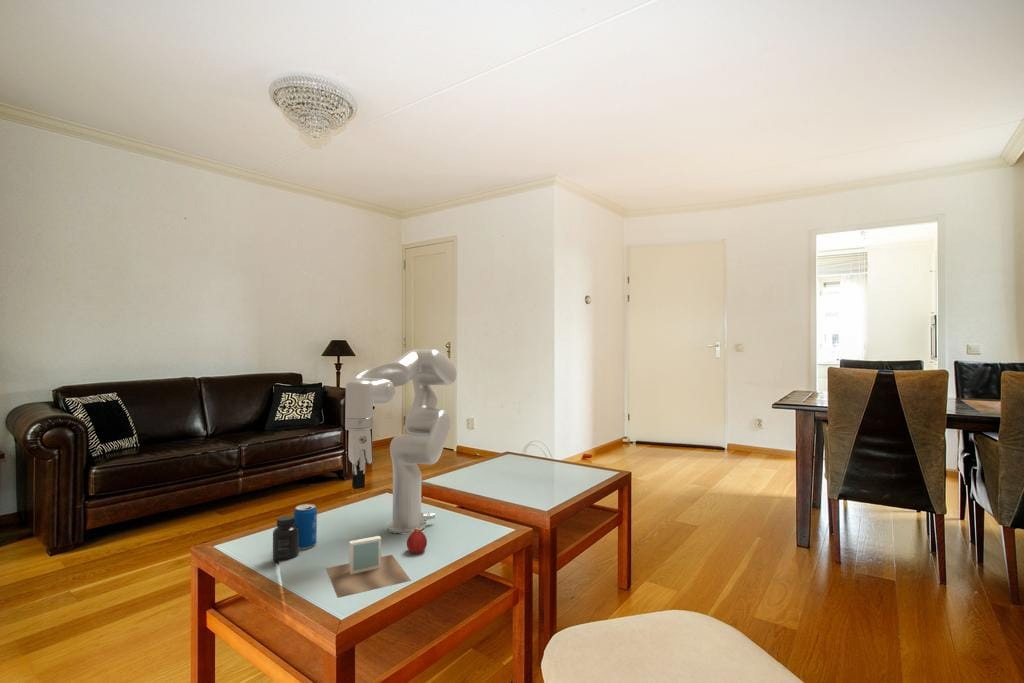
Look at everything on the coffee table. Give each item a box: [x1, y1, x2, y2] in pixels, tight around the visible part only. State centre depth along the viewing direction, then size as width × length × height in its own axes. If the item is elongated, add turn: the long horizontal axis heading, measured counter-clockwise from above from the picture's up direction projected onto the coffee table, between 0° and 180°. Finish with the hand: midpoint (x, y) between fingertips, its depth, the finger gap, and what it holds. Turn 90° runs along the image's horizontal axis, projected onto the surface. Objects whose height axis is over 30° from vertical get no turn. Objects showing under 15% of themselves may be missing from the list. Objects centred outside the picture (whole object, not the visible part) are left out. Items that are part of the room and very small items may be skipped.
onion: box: [406, 528, 428, 554], centre depth 143 cm, size 6×6×8 cm
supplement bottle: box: [272, 515, 300, 565], centre depth 140 cm, size 7×7×12 cm
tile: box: [348, 535, 382, 574], centre depth 131 cm, size 8×2×8 cm, turn 119°
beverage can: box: [293, 503, 318, 550], centre depth 150 cm, size 6×6×12 cm
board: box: [325, 554, 412, 599], centre depth 128 cm, size 18×18×1 cm
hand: (358, 487), depth 139 cm, fingers closed
